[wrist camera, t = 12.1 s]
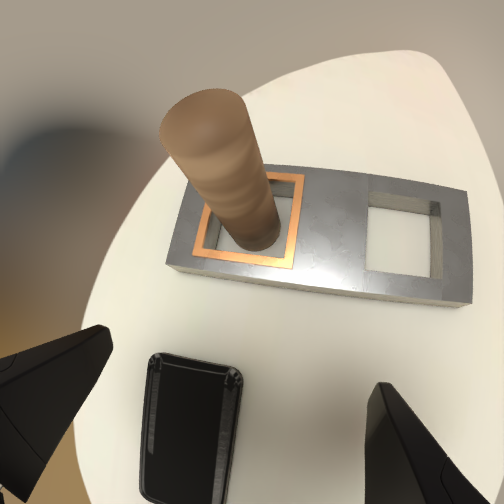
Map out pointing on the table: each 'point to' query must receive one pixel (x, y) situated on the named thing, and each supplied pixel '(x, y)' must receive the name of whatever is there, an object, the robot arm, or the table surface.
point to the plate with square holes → (337, 238)
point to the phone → (188, 430)
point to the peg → (223, 163)
